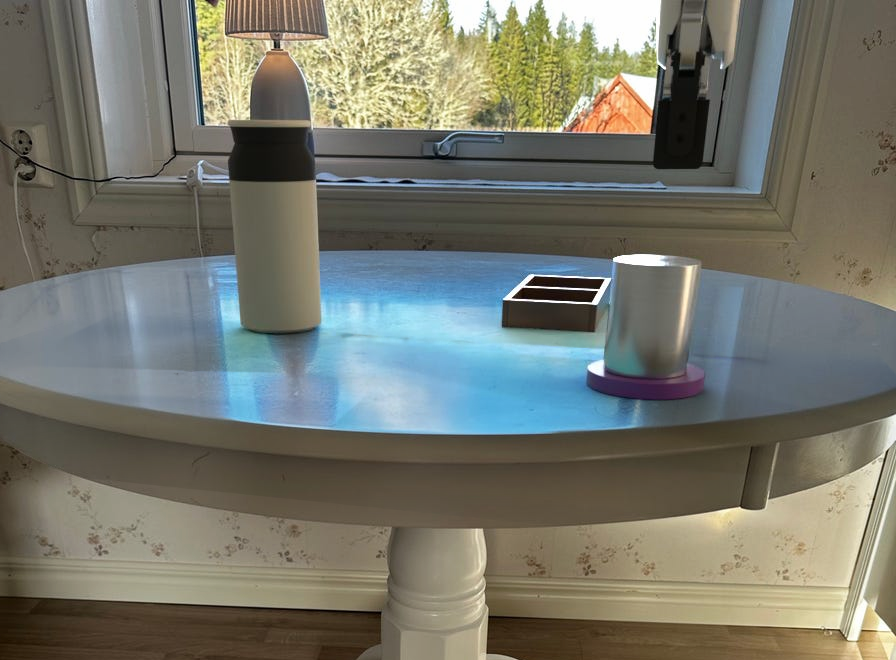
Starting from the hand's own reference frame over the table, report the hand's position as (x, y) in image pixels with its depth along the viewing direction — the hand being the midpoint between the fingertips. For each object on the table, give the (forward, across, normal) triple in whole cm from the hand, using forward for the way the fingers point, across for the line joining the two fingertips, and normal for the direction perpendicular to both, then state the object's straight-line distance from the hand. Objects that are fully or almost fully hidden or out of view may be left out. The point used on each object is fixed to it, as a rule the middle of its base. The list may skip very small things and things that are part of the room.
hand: (678, 165), depth 68 cm
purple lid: (+16, 0, +1) cm, 16 cm away
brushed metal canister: (+14, 0, +1) cm, 14 cm away
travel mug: (+15, +14, +37) cm, 42 cm away
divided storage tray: (+15, +26, +11) cm, 32 cm away
